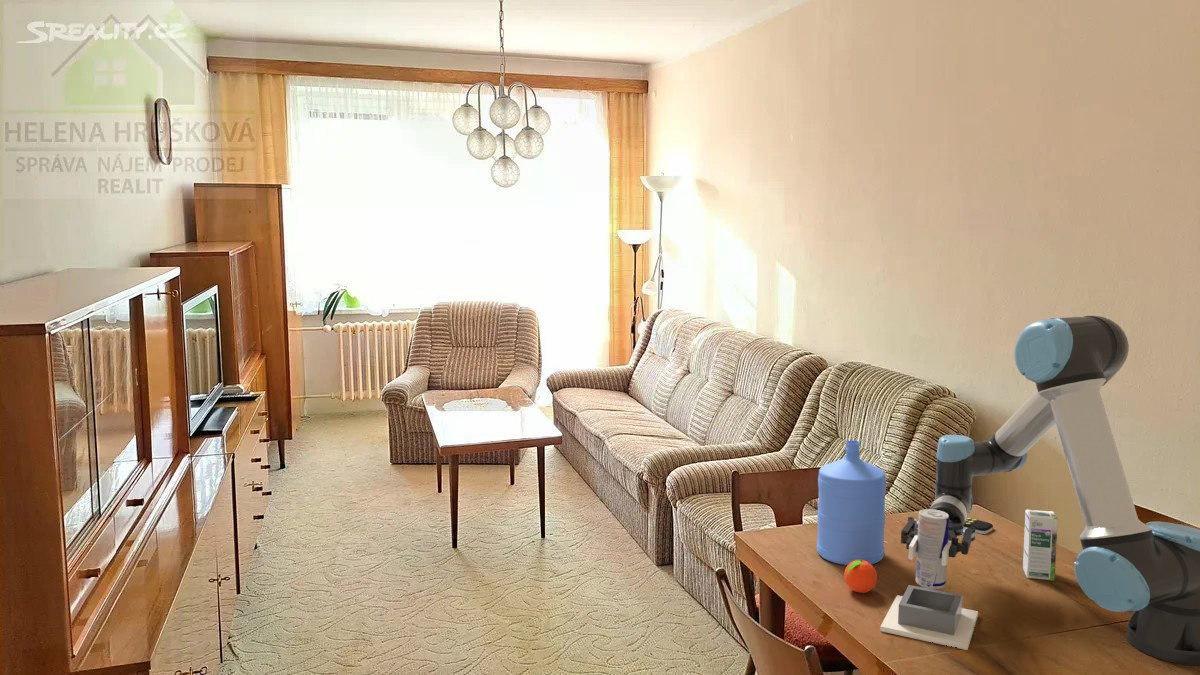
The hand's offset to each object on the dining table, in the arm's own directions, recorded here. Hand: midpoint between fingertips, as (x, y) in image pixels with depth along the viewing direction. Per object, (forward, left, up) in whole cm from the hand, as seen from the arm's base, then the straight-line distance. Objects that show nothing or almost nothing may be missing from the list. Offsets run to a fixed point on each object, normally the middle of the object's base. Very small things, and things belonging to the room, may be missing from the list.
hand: (927, 555), depth 167 cm
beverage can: (+3, -4, -8) cm, 10 cm away
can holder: (+2, -4, -16) cm, 17 cm away
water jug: (+36, -17, -16) cm, 43 cm away
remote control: (+34, -57, -17) cm, 69 cm away
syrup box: (+5, -44, -16) cm, 48 cm away
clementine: (+20, -3, -16) cm, 26 cm away
